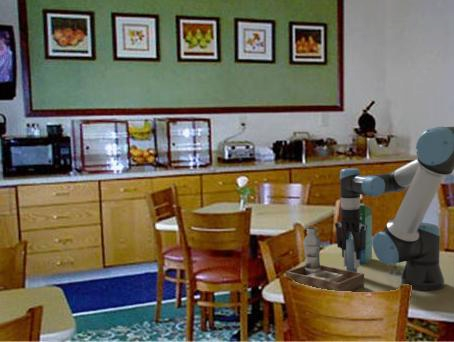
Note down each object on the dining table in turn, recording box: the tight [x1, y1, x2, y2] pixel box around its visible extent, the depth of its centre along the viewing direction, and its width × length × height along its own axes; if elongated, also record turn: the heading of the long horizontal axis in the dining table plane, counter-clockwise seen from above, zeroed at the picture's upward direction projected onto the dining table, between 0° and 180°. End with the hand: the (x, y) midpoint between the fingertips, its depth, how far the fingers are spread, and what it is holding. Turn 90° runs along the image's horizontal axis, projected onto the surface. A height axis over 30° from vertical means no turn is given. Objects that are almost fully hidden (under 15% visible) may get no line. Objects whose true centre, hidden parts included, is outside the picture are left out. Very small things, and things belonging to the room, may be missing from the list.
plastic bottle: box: [303, 227, 322, 275], centre depth 225 cm, size 6×7×20 cm
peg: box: [346, 238, 358, 272], centre depth 229 cm, size 4×4×13 cm
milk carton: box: [349, 202, 373, 264], centre depth 251 cm, size 9×9×25 cm
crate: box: [285, 264, 365, 292], centre depth 217 cm, size 24×16×5 cm, turn 45°
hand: (351, 266), depth 229 cm, fingers closed on peg, 4 cm apart
